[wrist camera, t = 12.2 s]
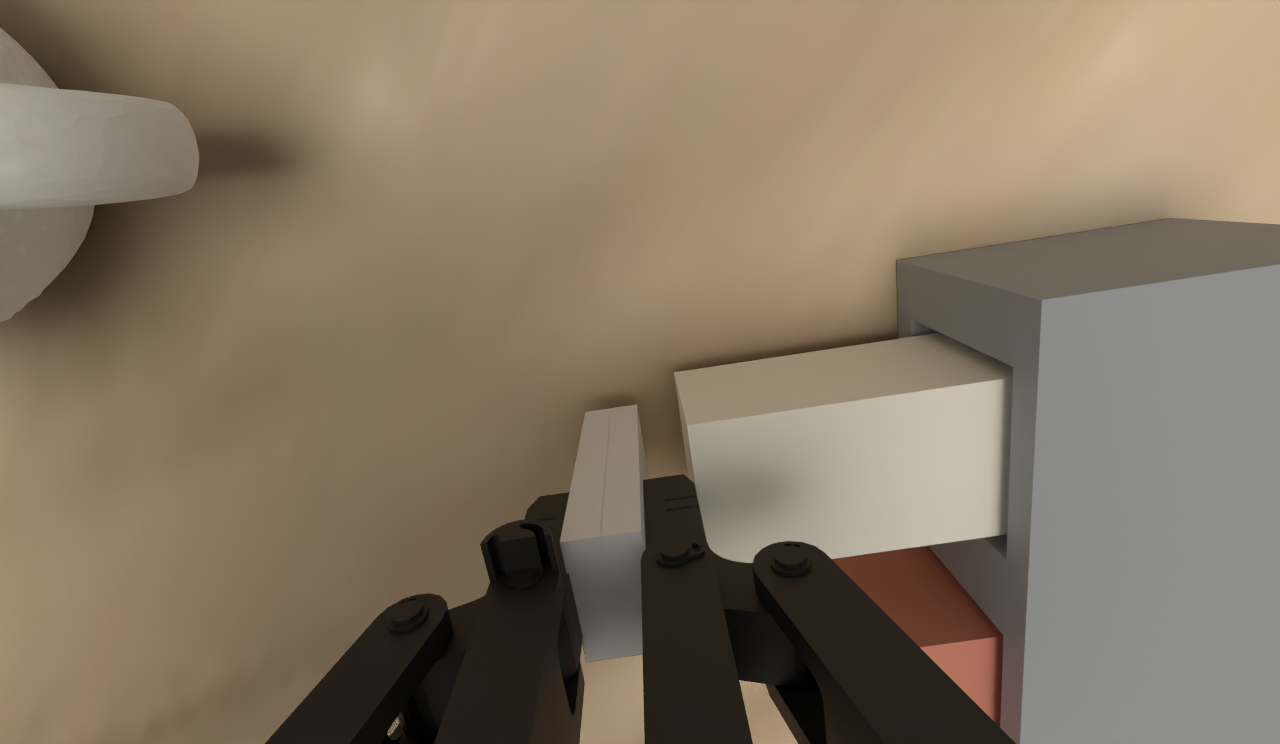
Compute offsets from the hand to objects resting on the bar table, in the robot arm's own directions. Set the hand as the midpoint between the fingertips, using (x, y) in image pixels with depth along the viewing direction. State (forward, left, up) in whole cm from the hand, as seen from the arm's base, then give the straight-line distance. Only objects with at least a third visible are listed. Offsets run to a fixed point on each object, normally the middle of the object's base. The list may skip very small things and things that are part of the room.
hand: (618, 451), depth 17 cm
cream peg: (+6, 0, 0) cm, 6 cm away
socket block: (+13, -7, -2) cm, 15 cm away
